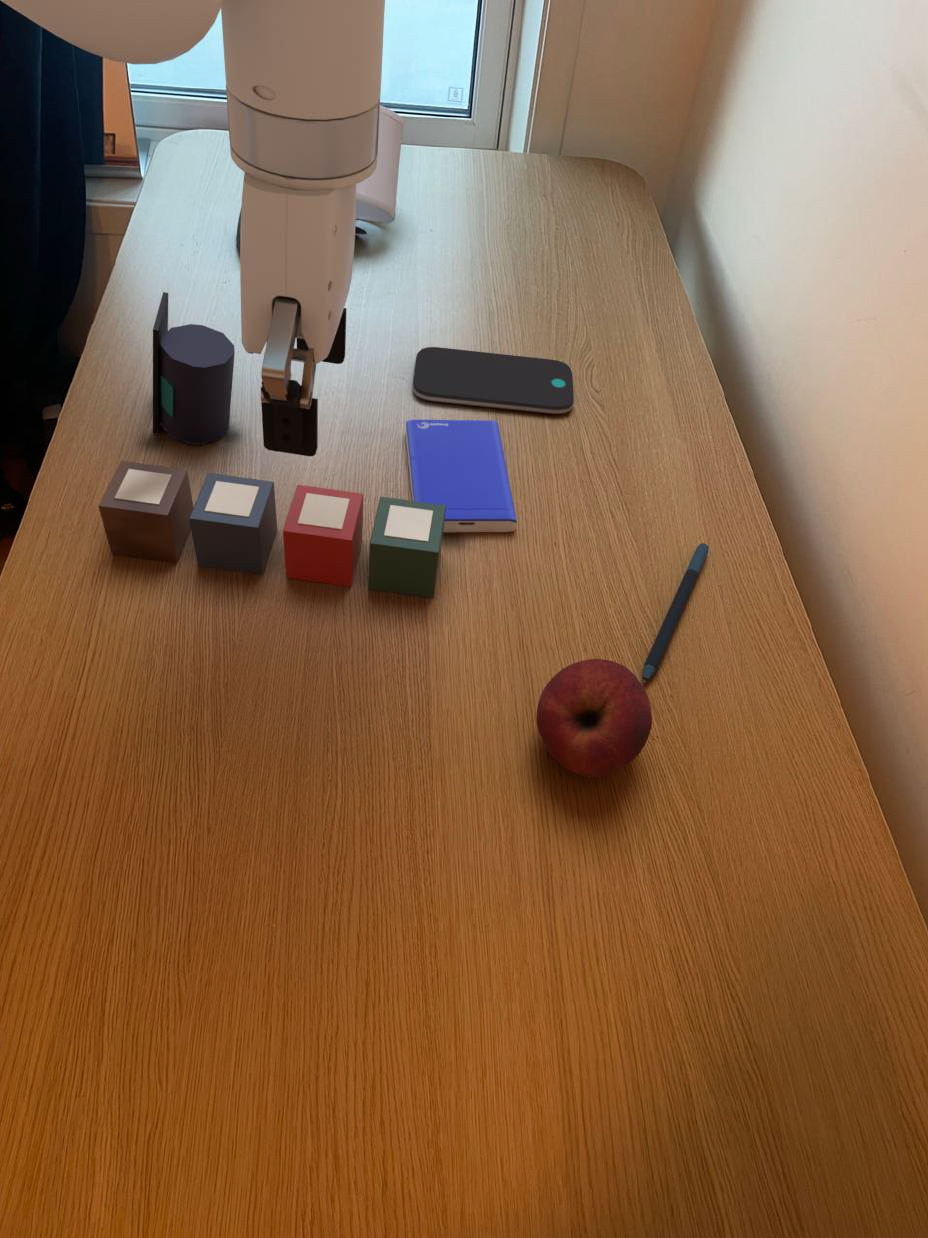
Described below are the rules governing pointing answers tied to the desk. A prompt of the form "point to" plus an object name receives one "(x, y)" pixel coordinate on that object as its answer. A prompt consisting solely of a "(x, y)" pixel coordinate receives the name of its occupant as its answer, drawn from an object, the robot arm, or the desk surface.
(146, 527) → the walnut block
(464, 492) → the hard drive
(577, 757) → the apple
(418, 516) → the green block
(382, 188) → the light fixture
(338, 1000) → the desk surface
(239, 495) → the slate block
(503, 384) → the smartphone
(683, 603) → the pen
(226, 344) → the speaker
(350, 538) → the red block
